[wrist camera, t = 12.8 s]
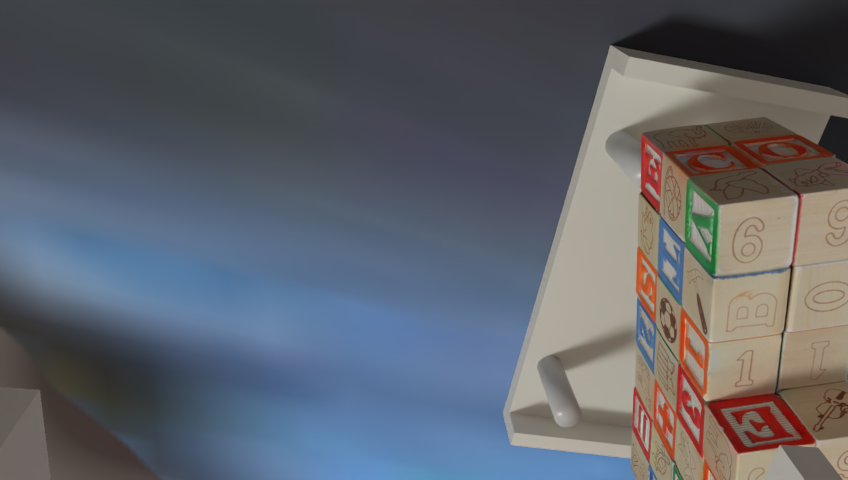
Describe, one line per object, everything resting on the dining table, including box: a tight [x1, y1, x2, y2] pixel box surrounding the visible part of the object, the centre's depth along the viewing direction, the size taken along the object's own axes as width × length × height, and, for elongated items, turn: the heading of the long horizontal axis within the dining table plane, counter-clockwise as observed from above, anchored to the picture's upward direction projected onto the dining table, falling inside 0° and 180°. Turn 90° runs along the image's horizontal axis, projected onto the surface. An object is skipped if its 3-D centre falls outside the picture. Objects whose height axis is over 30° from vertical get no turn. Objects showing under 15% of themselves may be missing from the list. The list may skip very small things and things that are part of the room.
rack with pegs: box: [503, 45, 848, 458], centre depth 42 cm, size 25×13×6 cm, turn 169°
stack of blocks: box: [631, 117, 848, 480], centre depth 34 cm, size 21×6×12 cm, turn 6°
